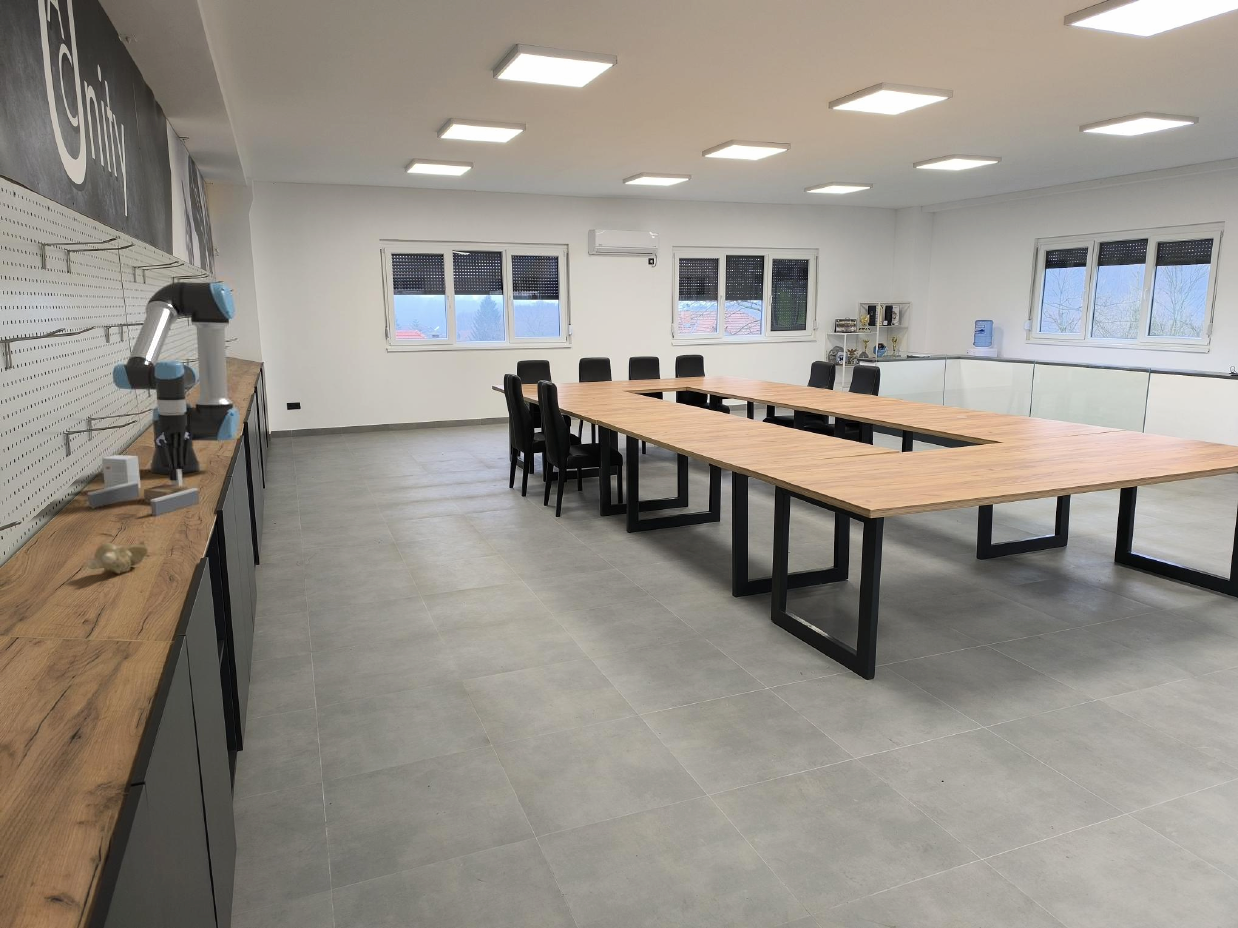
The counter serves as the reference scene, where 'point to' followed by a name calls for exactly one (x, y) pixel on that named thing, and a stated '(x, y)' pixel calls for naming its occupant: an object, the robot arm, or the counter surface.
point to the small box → (120, 470)
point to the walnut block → (162, 491)
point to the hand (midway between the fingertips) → (177, 490)
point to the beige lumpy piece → (118, 557)
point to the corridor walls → (132, 491)
